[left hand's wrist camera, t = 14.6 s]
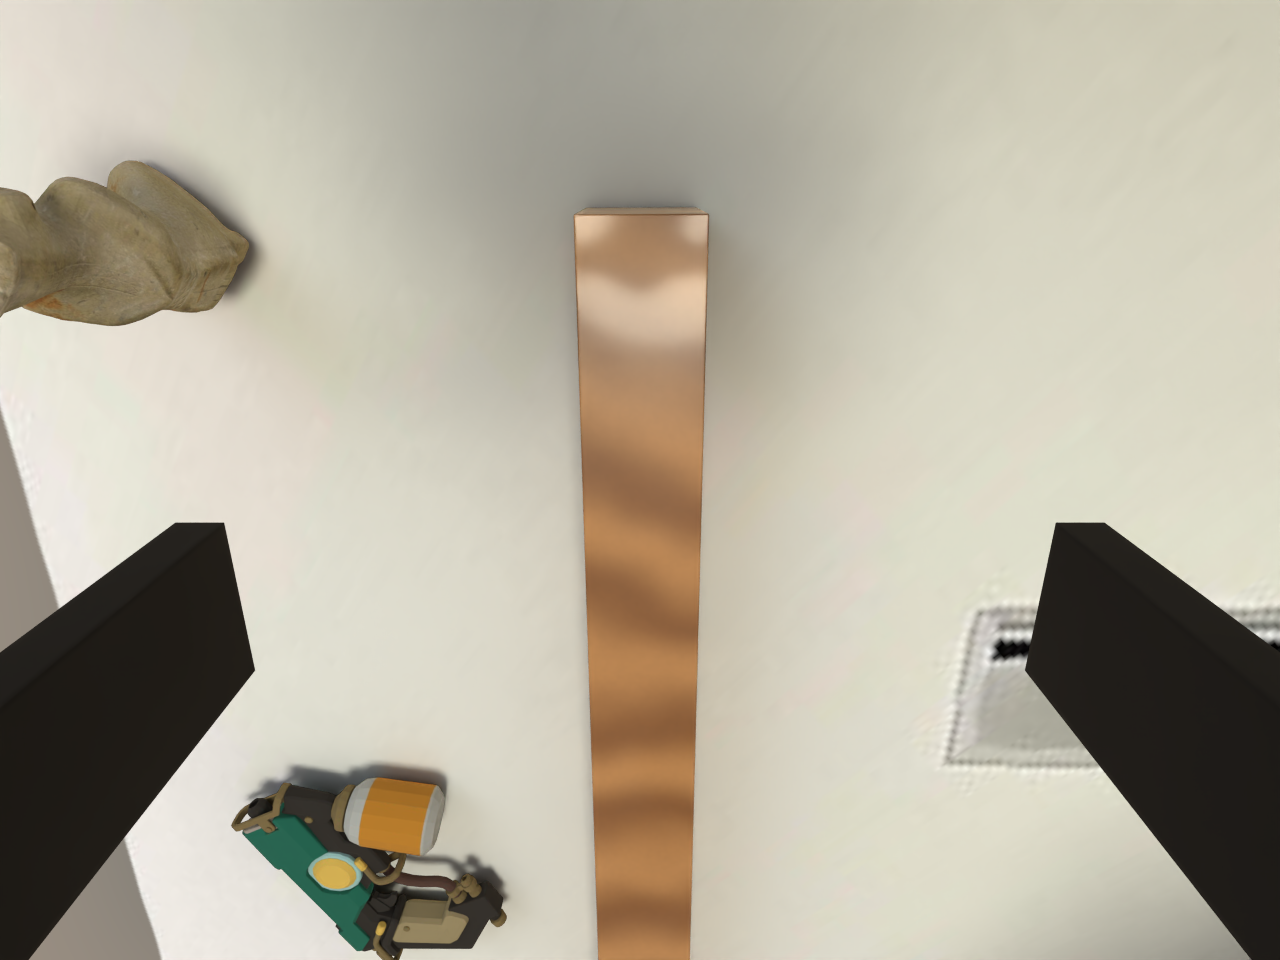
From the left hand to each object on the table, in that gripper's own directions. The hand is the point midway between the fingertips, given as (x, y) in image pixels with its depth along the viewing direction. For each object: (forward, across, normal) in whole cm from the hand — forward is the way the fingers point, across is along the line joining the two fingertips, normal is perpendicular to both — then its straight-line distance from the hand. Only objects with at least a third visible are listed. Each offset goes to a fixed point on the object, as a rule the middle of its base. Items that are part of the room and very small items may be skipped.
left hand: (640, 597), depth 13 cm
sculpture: (+30, -23, +4) cm, 38 cm away
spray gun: (+30, -18, -37) cm, 51 cm away
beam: (+30, 0, -34) cm, 46 cm away
